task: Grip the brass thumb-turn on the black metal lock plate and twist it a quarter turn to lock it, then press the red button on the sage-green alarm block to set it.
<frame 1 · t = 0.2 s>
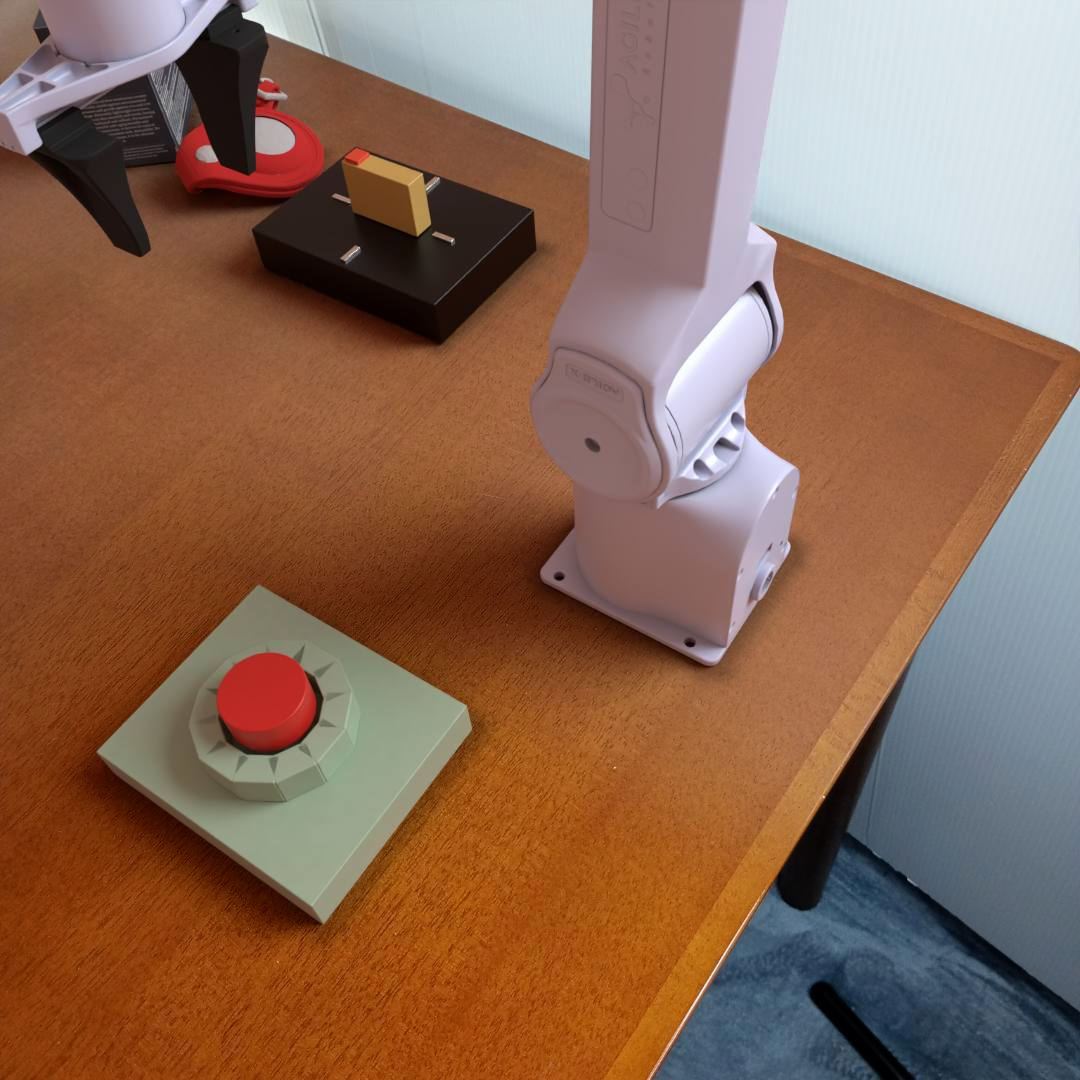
hand: (187, 206, 54), 10 cm above the table, tool pointing down, fingers open, 7 cm apart
tracker holder: (267, 162, 74), on the table
alarm button: (267, 701, 43), point 5 cm above the table, slide at 0.2 cm
lock plate: (400, 259, 67), on the table
thumb turn: (386, 191, 63), point 5 cm above the table, hinge at 0.0°
alarm block: (294, 752, 46), on the table
small box: (147, 128, 78), on the table
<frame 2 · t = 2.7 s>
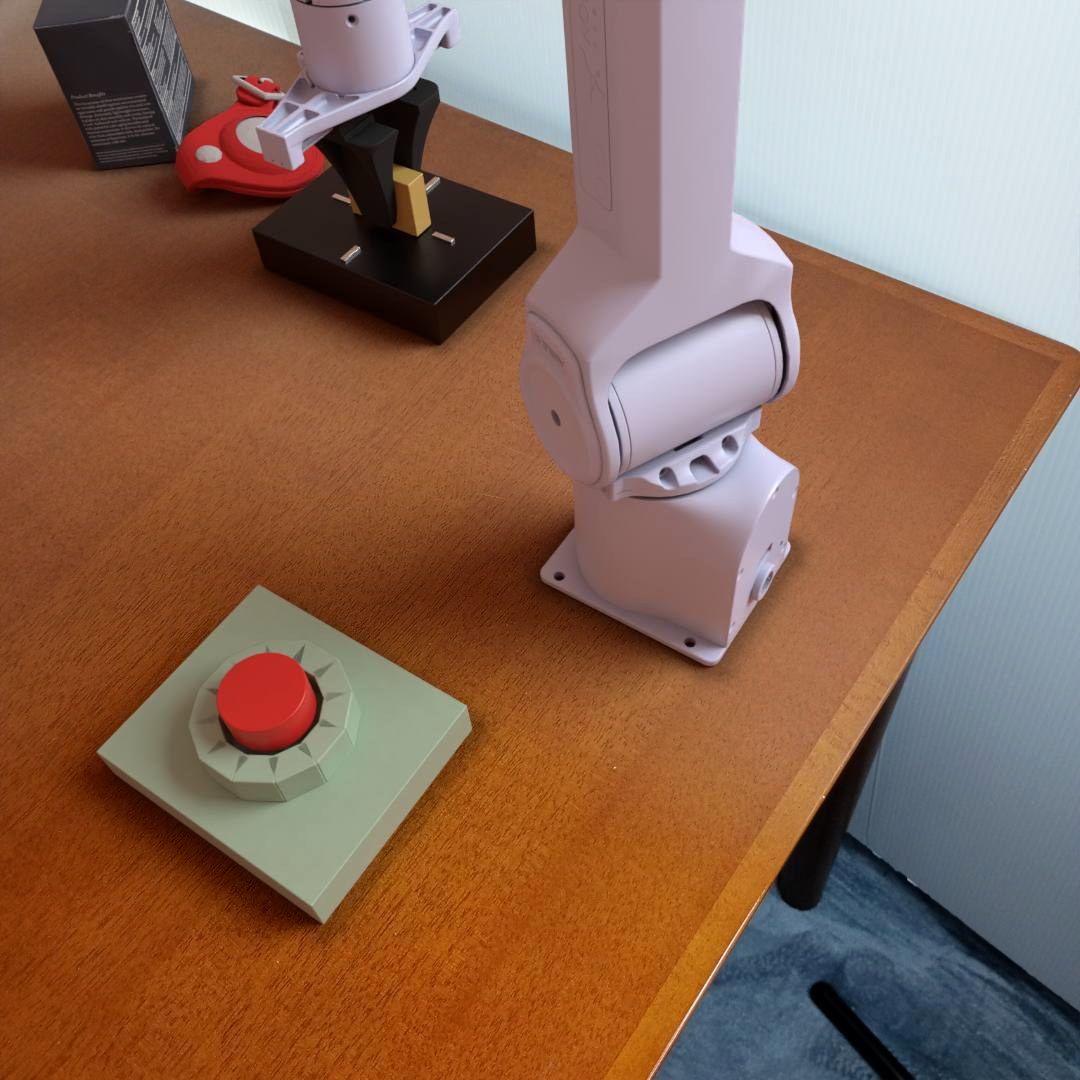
hand: (390, 211, 64), 4 cm above the table, tool pointing down, fingers closed on thumb turn
thumb turn: (386, 191, 63), point 5 cm above the table, hinge at 0.1°, touching gripper
everything else where it was.
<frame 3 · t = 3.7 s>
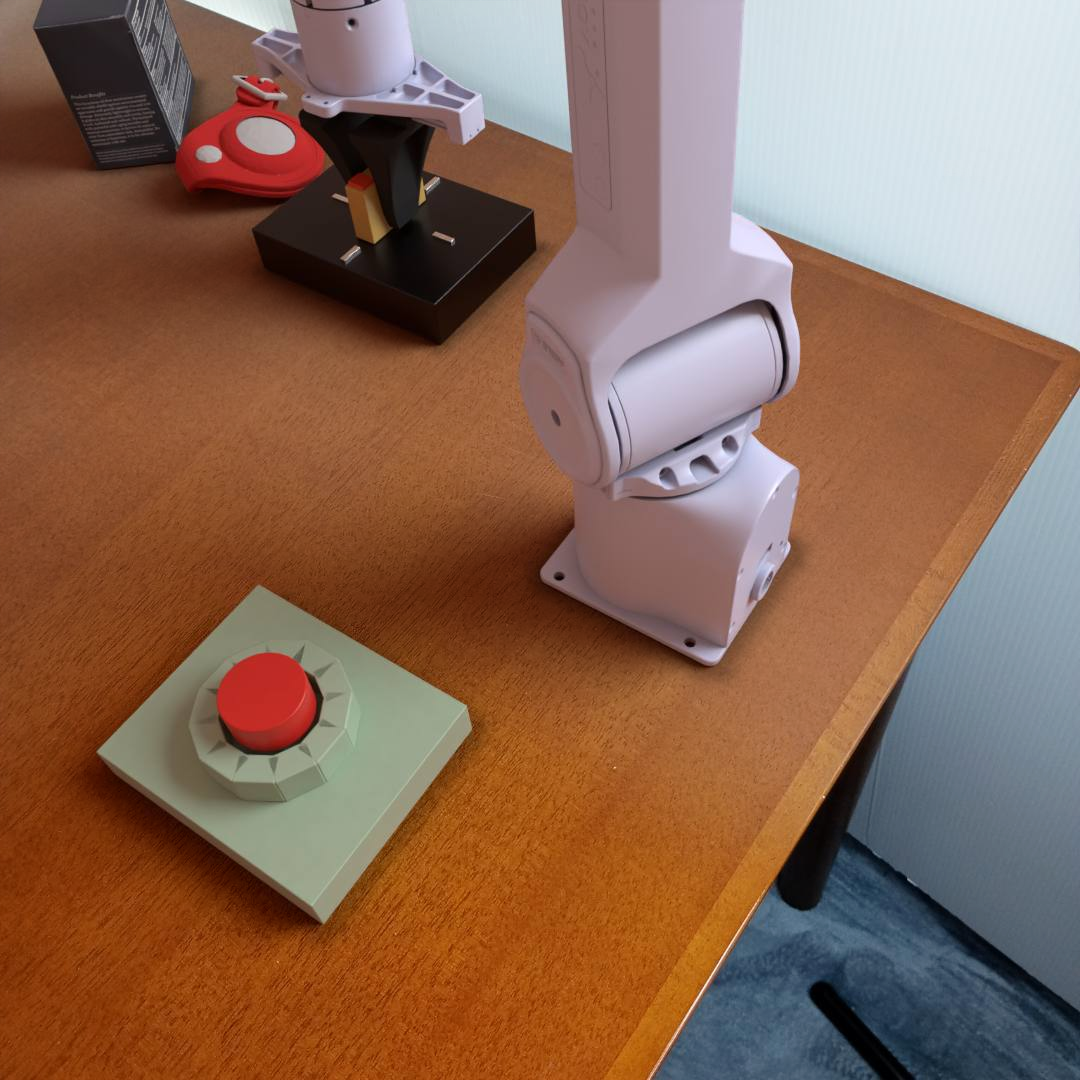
hand: (390, 213, 64), 3 cm above the table, tool pointing down, fingers closed on thumb turn
thumb turn: (386, 191, 63), point 5 cm above the table, hinge at 89.5°, touching gripper
everything else where it was.
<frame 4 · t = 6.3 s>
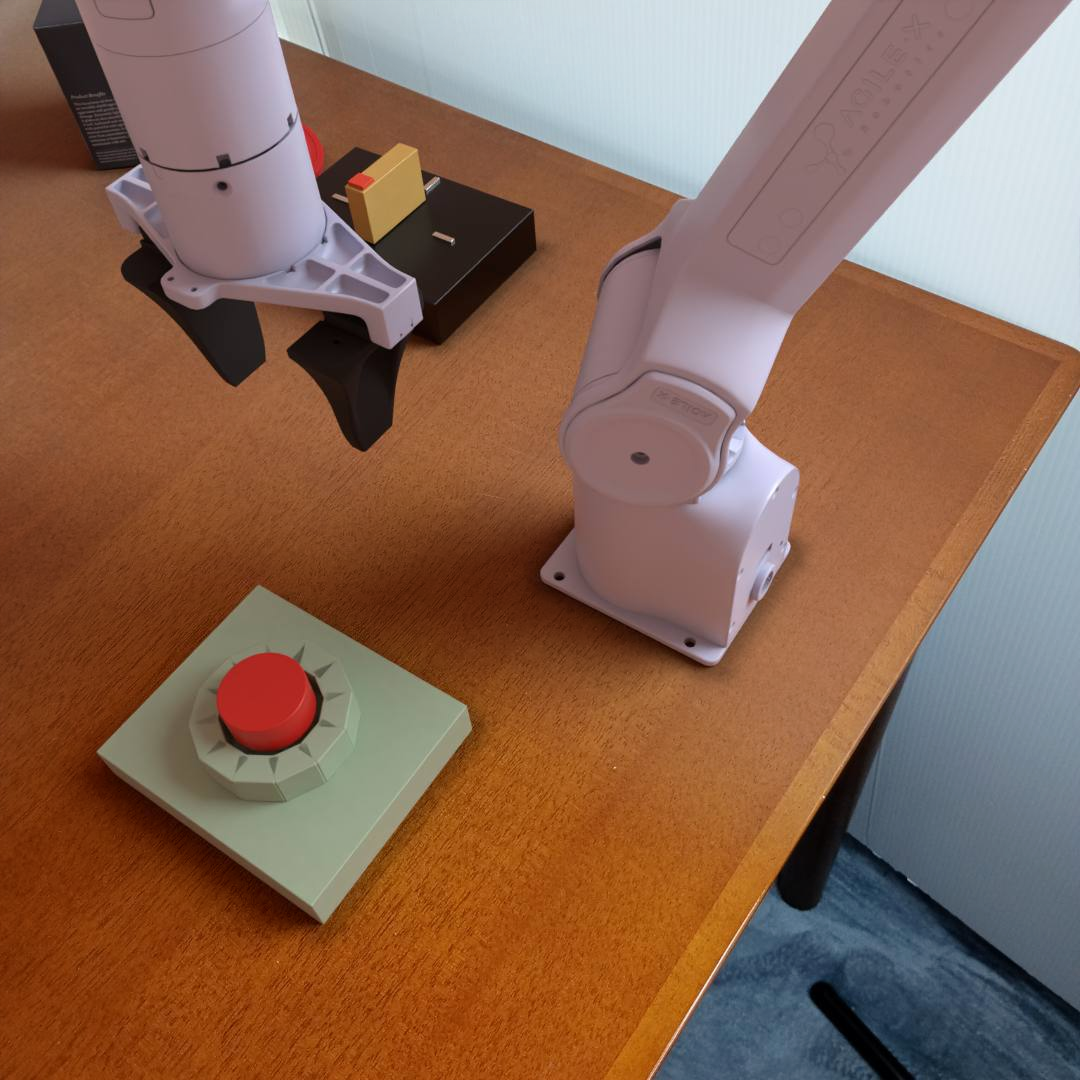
hand: (307, 402, 48), 8 cm above the table, tool pointing down, fingers open, 7 cm apart
thumb turn: (386, 191, 63), point 5 cm above the table, hinge at 89.4°
everything else where it was.
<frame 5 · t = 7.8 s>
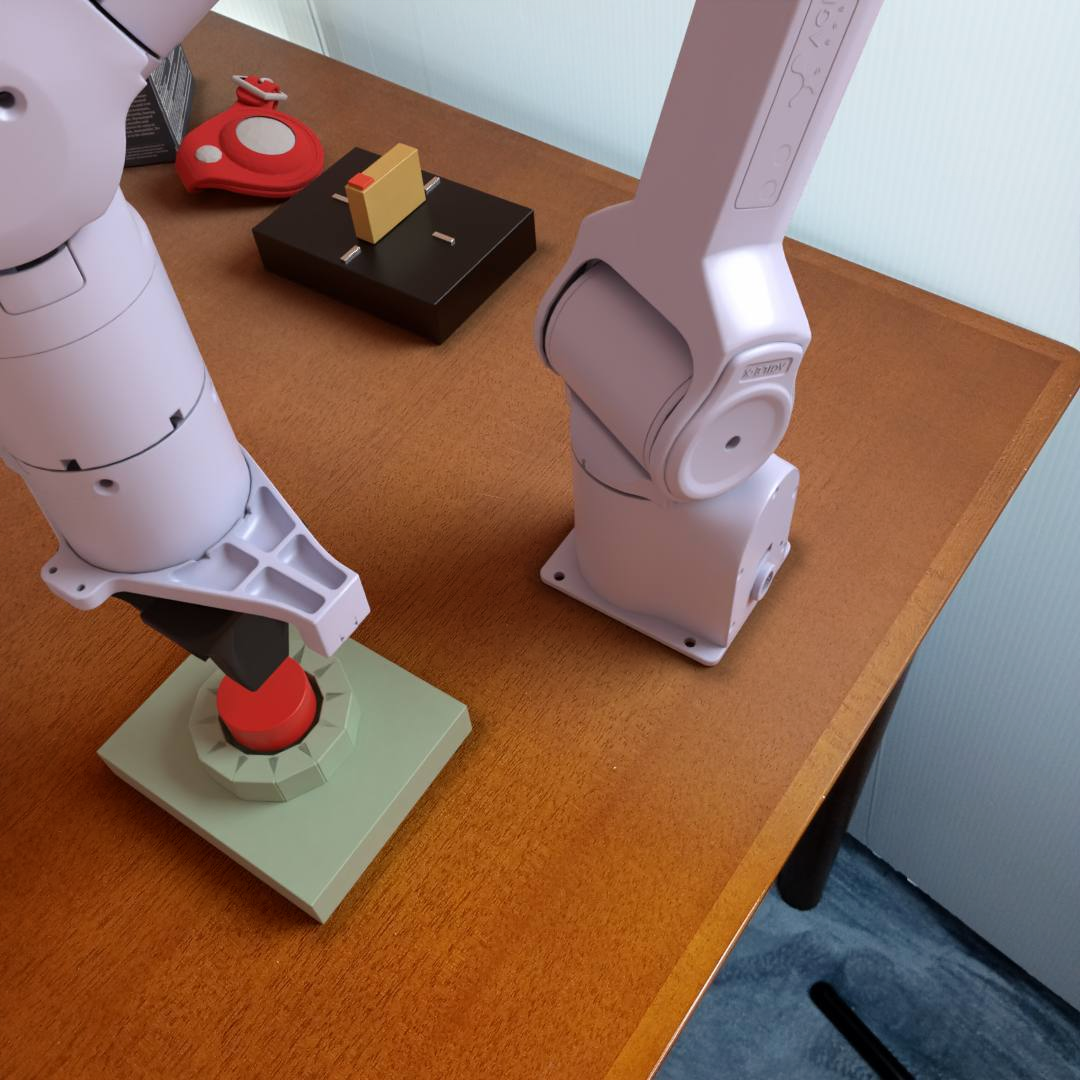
hand: (241, 653, 40), 8 cm above the table, tool pointing down, fingers closed
nothing on the table moved.
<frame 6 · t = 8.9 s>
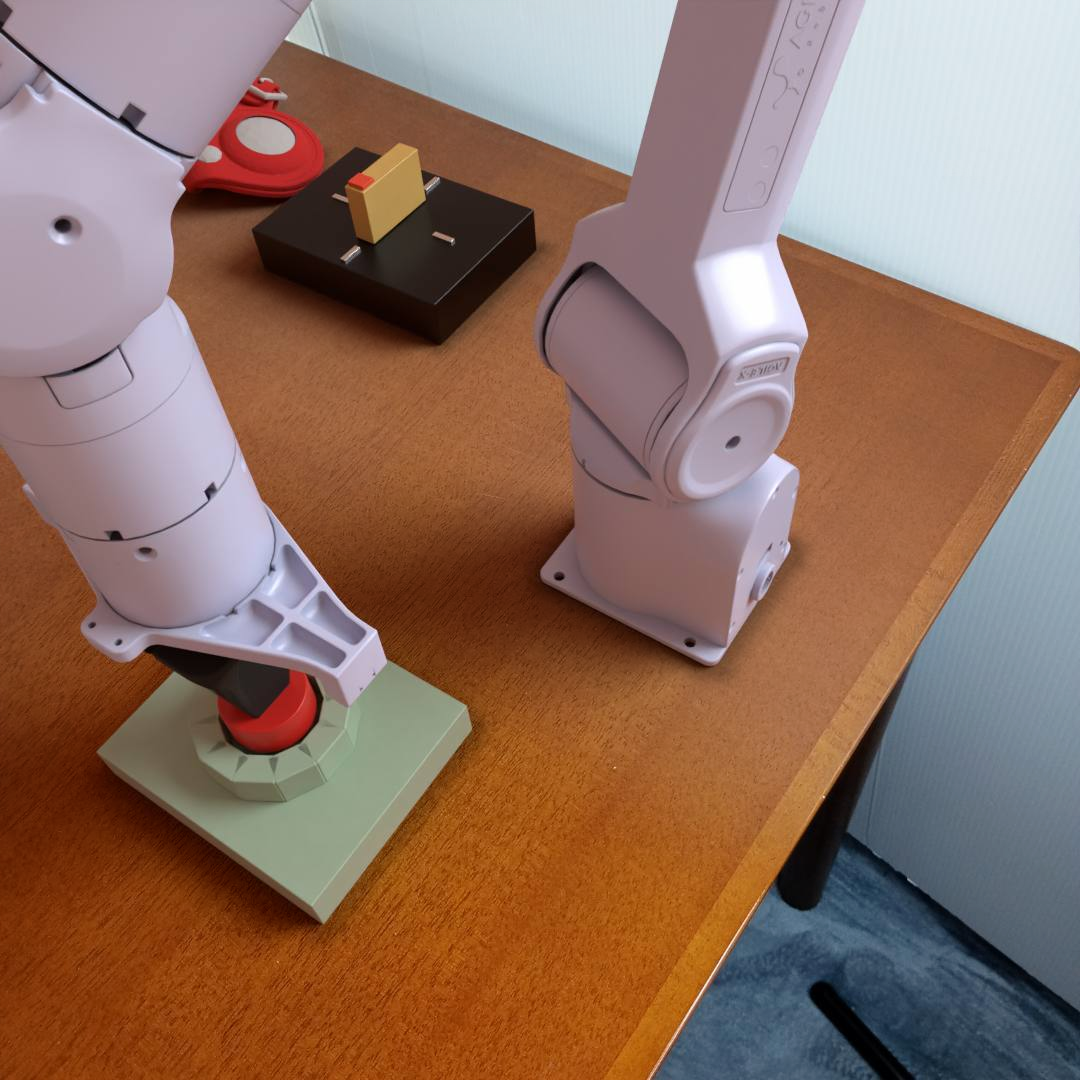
hand: (261, 692, 42), 5 cm above the table, tool pointing down, fingers closed, pressing on alarm button
alarm button: (267, 702, 43), point 4 cm above the table, slide at 0.0 cm, touching gripper
everything else where it was.
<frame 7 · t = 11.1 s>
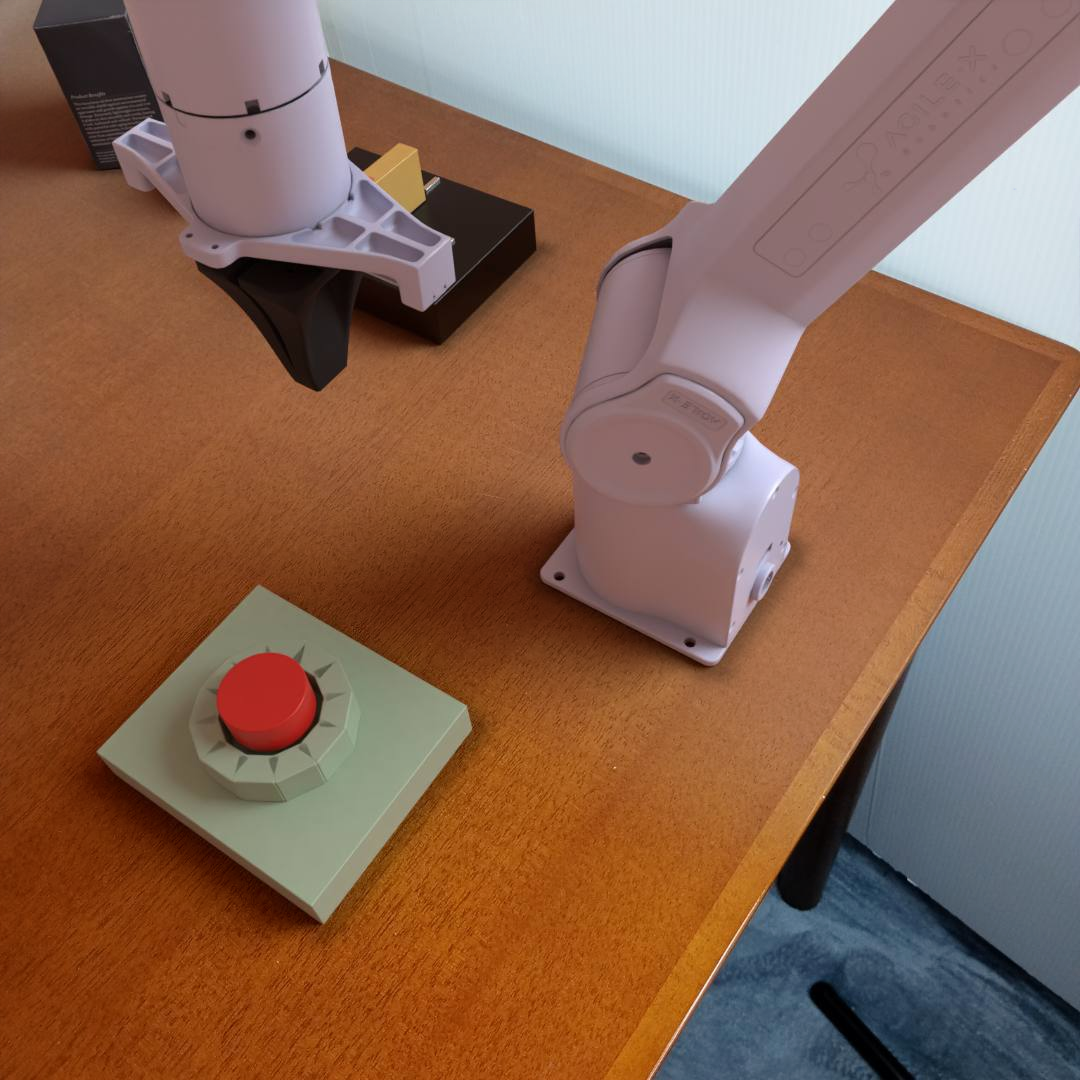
hand: (321, 372, 46), 10 cm above the table, tool pointing down, fingers closed
alarm button: (267, 701, 43), point 5 cm above the table, slide at 0.2 cm
everything else where it was.
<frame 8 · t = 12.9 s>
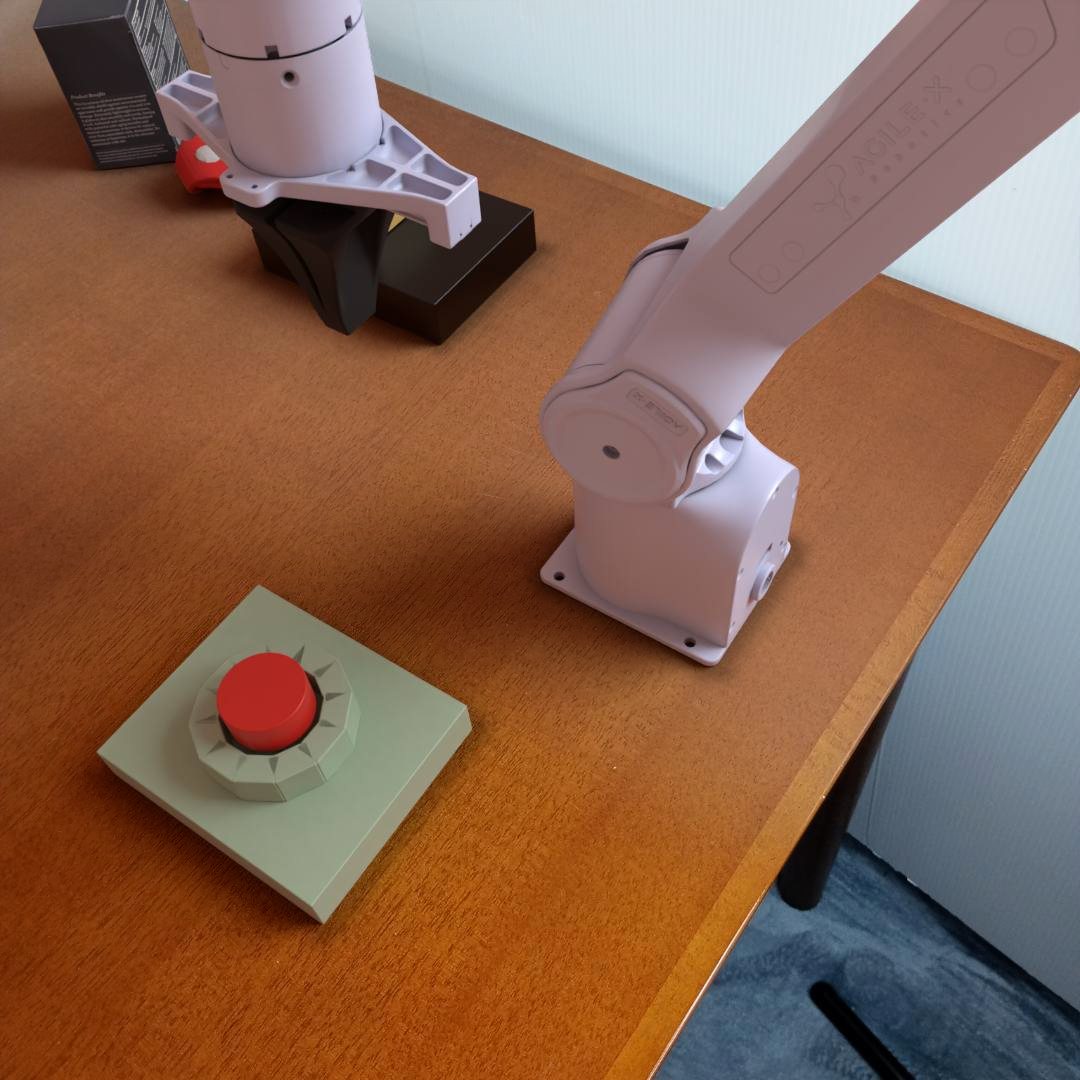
hand: (350, 318, 48), 10 cm above the table, tool pointing down, fingers closed
nothing on the table moved.
at the end: thumb turn at +89° (first picture: +0°); alarm button pushed in 1.2 cm at the most during the clip, back to 0.2 cm at the end; alarm button slide at 0.2 cm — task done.
